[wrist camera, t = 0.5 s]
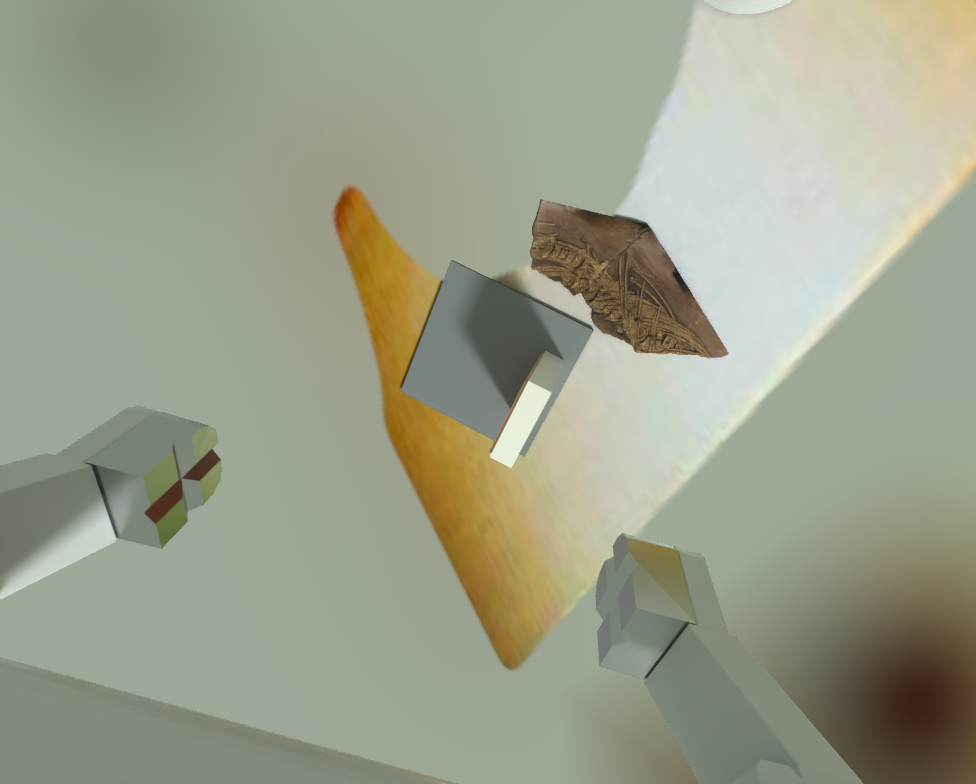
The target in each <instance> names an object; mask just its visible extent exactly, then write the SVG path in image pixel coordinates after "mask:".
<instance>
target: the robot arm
mask: <svg viewBox="0 0 976 784" xmlns="http://www.w3.org/2000/svg"><path fill="white" fill-rule="evenodd" d="M703 1H704V2H706V3H707V4H709V5H710V6H712V7H714V8H716V9H719V10H722V11H725V12H729V13H734V14H755V13H761V12H766V11H769V10H773V9H776V8H778V7H781V6H783V5H785V4H788V3H790V2H792V1H793V0H703ZM217 443H218V438H217V433H216V429H215V428H213V427H211V426H208V425H205V424H202V423H198V422H195V421H191V420H188V419H184V418H181V417H177V416H174V415H170V414H167V413H164V412H158V411H155V410H151V409H148V408H145V407H141V406H134V407H128V408H126V409H125V410H123V411H122V412H120V413H119V414H118V415H116V416H114V417H113V418H111V419H110V420H108V421H107V422H105V423H104V424H102V425H100V426H99V427H97V428H96V429H95V430H93V431H91V432H90V433H88V434H87V435H85V436H84V437H82V438H81V439H79V440H78V441H76V442H75V443H73V444H72V445H70V446H69V447H67V448H66V449H64V450H62V451H61V452H60V453H58V454H56V455H51V454H47V453H46V454H43V455H39V456H35V457H31V458H28V459H24V460H20V461H16V462H13V463H9V464H5V465H1V466H0V599H2V598H4V597H6V596H8V595H10V594H12V593H14V592H16V591H18V590H20V589H22V588H24V587H26V586H28V585H30V584H32V583H34V582H36V581H38V580H40V579H42V578H44V577H46V576H48V575H50V574H52V573H54V572H56V571H58V570H60V569H62V568H64V567H66V566H68V565H70V564H72V563H74V562H76V561H78V560H80V559H82V558H84V557H86V556H87V555H89V554H92V553H93V552H95V551H97V550H99V549H101V548H103V547H105V546H107V545H109V544H111V543H113V542H115V541H116V540H117V538H119V539H124V540H128V541H132V542H136V543H140V544H144V545H148V546H153V547H157V548H161V549H162V548H163V547H164V546H165V545H166V544H167V543H168V542H169V541H170V540H171V539H172V538H173V536H175V534H176V533H177V532H178V531H179V530H180V529H181V528H182V527H183V526H184V525H185V524H186V523H187V520H188V511H189V510H192V509H194V508H197V507H199V506H202V505H204V504H205V502H206V501H207V500H208V499H209V498H210V496H212V495H213V493H214V491H215V489H216V487H217V485H218V483H219V482H220V479H221V472H222V466H221V459H220V458H219V457H218V455H217V454H216V453H215V452H214V450H213V448H214V447H215V446H216V444H217ZM613 552H614V557H612V558H610V559H608V560H606V561H605V562H604V564H603V566H602V568H601V571H600V573H599V577H598V582H597V586H596V610H597V611H598V613H599V614H600V616H601V617H602V619H603V622H602V624H601V626H600V627H599V629H598V631H597V634H598V651H599V666H600V667H603V668H607V669H610V670H613V671H617V672H620V673H624V674H627V675H630V676H634V677H637V678H641V679H644V680H646V681H645V685H646V686H647V688H648V690H649V692H650V694H651V696H652V697H653V699H654V701H655V703H656V705H657V707H658V708H659V710H660V712H661V714H662V716H663V718H664V720H665V722H666V723H667V725H668V727H669V729H670V731H671V733H672V734H673V736H674V738H675V740H676V742H677V744H678V745H679V747H680V749H681V751H682V753H683V755H684V757H685V758H686V760H687V762H688V764H689V766H690V768H691V769H692V771H693V773H694V775H695V777H696V779H697V781H698V782H699V784H863V783H862V781H861V780H860V779H859V778H858V777H857V776H856V774H855V773H854V772H853V771H852V770H851V769H850V767H848V765H847V764H846V763H845V762H844V760H843V759H842V758H841V757H840V756H839V755H838V754H837V752H836V751H835V750H834V749H833V748H832V747H831V745H830V744H829V743H828V742H827V741H826V740H825V739H824V737H823V736H822V735H821V734H820V733H819V731H817V729H816V728H815V727H814V726H813V725H812V723H811V722H810V721H809V720H808V719H807V718H806V716H805V715H804V714H803V713H802V712H801V711H800V709H798V707H797V706H796V705H795V704H794V703H793V701H792V700H791V699H790V698H789V697H788V696H787V694H786V693H785V692H784V691H783V690H782V689H781V687H780V686H779V685H778V684H777V683H776V682H775V680H774V679H773V678H772V677H771V676H770V675H769V673H767V671H766V670H765V669H764V668H763V667H762V665H761V664H760V663H759V662H758V661H757V660H756V658H755V657H754V656H753V655H752V654H751V653H750V651H749V650H748V649H747V648H746V647H745V646H744V644H743V643H742V642H741V641H740V640H739V639H738V638H737V637H736V636H732V635H730V634H728V631H727V628H726V625H725V622H724V619H723V616H722V613H721V609H720V606H719V603H718V599H717V596H716V593H715V590H714V587H713V584H712V580H711V577H710V574H709V571H708V567H707V565H706V561H705V558H704V557H703V556H702V554H701V553H699V552H695V551H691V550H687V549H683V548H678V547H672V546H670V545H666V544H663V543H659V542H655V541H651V540H647V539H643V538H639V537H635V536H631V535H627V534H623V533H622V534H621V535H620V536H619V537H618V538H617V539H616V541H615V543H614V545H613ZM0 784H457V783H453V782H449V781H446V780H442V779H438V778H435V777H431V776H428V775H424V774H420V773H417V772H413V771H410V770H406V769H402V768H399V767H395V766H392V765H388V764H384V763H381V762H377V761H373V760H370V759H366V758H363V757H359V756H356V755H352V754H348V753H345V752H341V751H338V750H334V749H330V748H327V747H323V746H319V745H316V744H312V743H308V742H305V741H301V740H298V739H294V738H290V737H287V736H283V735H280V734H276V733H273V732H269V731H265V730H261V729H258V728H255V727H251V726H247V725H244V724H240V723H237V722H233V721H229V720H226V719H222V718H218V717H215V716H211V715H207V714H204V713H200V712H197V711H193V710H189V709H186V708H182V707H179V706H175V705H171V704H168V703H164V702H161V701H157V700H153V699H150V698H146V697H142V696H139V695H135V694H132V693H128V692H125V691H121V690H117V689H114V688H110V687H106V686H103V685H99V684H96V683H92V682H88V681H85V680H81V679H77V678H73V677H70V676H66V675H63V674H59V673H55V672H52V671H49V670H45V669H41V668H38V667H34V666H30V665H27V664H23V663H20V662H16V661H12V660H9V659H5V658H1V657H0Z"/></svg>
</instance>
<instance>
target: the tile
mask: <svg viewBox="0 0 976 784" xmlns="http://www.w3.org/2000/svg"><path fill="white" fill-rule="evenodd" d="M563 362H564V360H563V359H561V358H559V357H557V356H555V355H553V354H551V353H549V352H547V351H545V353H541V355H540V356H539V358H538V360H537V361H536V363H535V365H534V367H533V368H532V370H531V372H530V373H529V375H528V377H527V378H526V380H525V382H524V384H523V386H522V388H521V390H520V392H519V394H518V395H517V397H516V399H515V401H514V403H513V405H512V407H511V409H510V411H509V413H508V415H507V417H506V419H505V421H504V423H503V425H502V427H501V429H500V431H499V433H498V435H497V437H496V439H495V441H494V443H493V445H492V447H491V449H490V451H489V452H490V453H491V455H490V457H491V458H493V459H495V460H497V461H499V462H501V463H502V464H504V465H506V466H508V467H510V468H511V467H512V466H513V464H514V462H515V460H516V458H517V456H518V455H519V453H520V451H521V449H522V447H523V445H524V443H525V442H526V440H527V438H528V436H529V434H530V432H531V430H532V429H533V427H534V425H535V423H536V421H537V419H538V417H539V416H540V414H541V412H542V410H543V408H544V406H545V405H546V403H547V401H548V399H549V397H550V395H551V393H552V391H553V388H554V386H555V383H556V381H557V378H558V375H559V373H560V370H561V368H562V365H563Z"/></svg>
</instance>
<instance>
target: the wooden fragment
mask: <svg viewBox="0 0 976 784" xmlns="http://www.w3.org/2000/svg"><path fill="white" fill-rule="evenodd" d="M648 228H649V226H648V225H647V224H643V223H636V222H633V221H629V220H624V219H620V218H616V217H612V216H608V215H603V214H599V213H595V212H590V211H587V210H582V209H578V208H574V207H571V206H565V205H560V204H557V203H553V202H548V201H544V200H540V205H539V208H538V212H537V215H536V218H535V221H534V223H533V226H532V234H533V243H532V247H531V249H530V255H531V257H532V258H533V261H532V270H535V269H536V270H537V271H538V272H539V273H542V274H545V275H546V276H547V277H548V278H550V279H552V280H554V281H560V282H561V283H562V284H563V285H564V287H566V288H567V289H568V290H569V291H570V292H571V293H572V295H573V296H574V295H576V294H578V293H581V294H582V296H583V297H584V298H585V301H586V303H587V304H588V305H589V306H590V308H592V312H593V316H592V321H593V323H594V324H595V325H596V326H597V328H598V329H600V330H601V331H602V333H603V334H610V335H612V336H613V337H616V338H619V339H620V340H624V341H625V342H626V343H628V344H631V345H632V346H633V347H634V350H635V352H636V353H657V354H667V353H673V354H678V355H688V354H690V355H699V356H701V357H707V358H716V357H717V358H718V357H723V356H725V355H728V352H727V350H726V348H725V347H724V345H723V343H722V342H721V340H720V339H719V337H718V335H717V334H716V332H715V331H714V329H713V327H712V326H711V324H710V323H709V321H708V319H707V318H706V316H705V315H704V313H703V311H702V310H701V308H700V306H699V305H698V303H697V302H696V300H695V298H694V297H693V295H692V293H691V292H690V290H689V288H688V287H687V285H686V284H685V283H684V281H683V279H682V277H681V276H680V274H679V273H678V271H677V269H676V267H675V266H674V264H673V263H672V261H671V260H670V258H669V257H668V255H667V253H666V252H665V250H664V249H663V248H662V247H661V244H659V243H660V242H659V241H658V239H657V238H656V236H655V234H654V233H653V231H652V230H651V229H650V228H649V230H647V229H648ZM645 230H647V231H646V232H645V233H644V231H645Z"/></svg>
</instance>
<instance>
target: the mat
mask: <svg viewBox="0 0 976 784" xmlns="http://www.w3.org/2000/svg"><path fill="white" fill-rule="evenodd" d="M592 332H593V329H591V328H589V327H587V326H585V325H582V324H580V323H578V322H576V321H574V320H572V319H570V318H568V317H566V316H564V315H562V314H560V313H558V312H556V311H554V310H552V309H550V308H548V307H546V306H544V305H542V304H540V303H538V302H536V301H534V300H532V299H530V298H528V297H526V296H524V295H522V294H520V293H518V292H516V291H514V290H512V289H510V288H508V287H506V286H504V285H502V284H500V283H498V282H496V281H494V280H492V279H490V278H488V277H486V276H484V275H482V274H480V273H478V272H475V271H474V270H471V269H469V268H467V267H465V266H463V265H461V264H459V263H457V262H455V261H453V260H452V261H451V263H450V265H449V268H448V271H447V273H446V276H445V278H444V281H443V283H442V286H441V289H440V291H439V294H438V296H437V299H436V302H435V304H434V307H433V309H432V312H431V314H430V317H429V320H428V322H427V325H426V327H425V330H424V333H423V335H422V338H421V340H420V343H419V345H418V348H417V351H416V353H415V356H414V358H413V361H412V363H411V366H410V369H409V371H408V374H407V376H406V379H405V382H404V384H403V387H402V389H401V392H403V393H405V394H407V395H409V396H411V397H413V398H414V399H416V400H418V401H420V402H422V403H424V404H426V405H428V406H430V407H432V408H433V409H435V410H437V411H439V412H441V413H443V414H445V415H447V416H449V417H450V418H452V419H454V420H456V421H458V422H460V423H462V424H464V425H466V426H468V427H469V428H471V429H473V430H475V431H477V432H479V433H481V434H483V435H485V436H487V437H488V438H490V439H492V440H494V441H495V439H496V437H497V435H498V433H499V431H500V429H501V427H502V425H503V423H504V421H505V419H506V417H507V415H508V413H509V411H510V409H511V407H512V405H513V403H514V401H515V399H516V397H517V395H518V394H519V392H520V390H521V388H522V386H523V384H524V382H525V380H526V378H527V377H528V375H529V373H530V372H531V370H532V368H533V367H534V365H535V363H536V361H537V360H538V358H539V356H540V355H541V353H545V351H547V352H549V353H551V354H553V355H555V356H557V357H559V358H561V359H563V360H564V362H563V365H562V368H561V370H560V373H559V375H558V378H557V381H556V383H555V386H554V388H553V391H552V393H551V395H550V397H549V399H548V401H547V403H546V405H545V406H544V408H543V410H542V412H541V414H540V416H539V417H538V419H537V421H536V423H535V425H534V427H533V429H532V430H531V432H530V434H529V436H528V438H527V440H526V442H525V443H524V445H523V447H522V449H521V451H520V453H519V454H521V455H523V456H524V457H525V455H526V453H527V451H528V449H529V447H530V446H531V444H532V442H533V440H534V438H535V436H536V435H537V433H538V431H539V429H540V427H541V425H542V424H543V422H544V420H545V418H546V416H547V415H548V413H549V411H550V409H551V407H552V405H553V404H554V402H555V400H556V398H557V396H558V394H559V393H560V391H561V389H562V387H563V385H564V383H565V382H566V380H567V378H568V376H569V374H570V372H571V371H572V369H573V367H574V365H575V363H576V362H577V360H578V358H579V356H580V354H581V352H582V351H583V349H584V347H585V345H586V343H587V341H588V340H589V338H590V336H591V334H592Z"/></svg>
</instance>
